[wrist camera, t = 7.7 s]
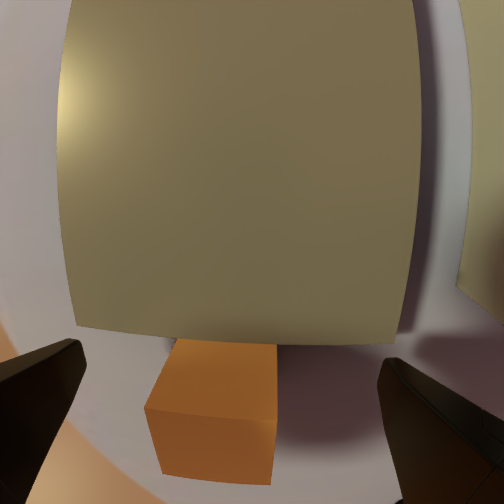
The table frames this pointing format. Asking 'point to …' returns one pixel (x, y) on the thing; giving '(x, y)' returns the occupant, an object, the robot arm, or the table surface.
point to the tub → (485, 158)
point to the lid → (237, 197)
